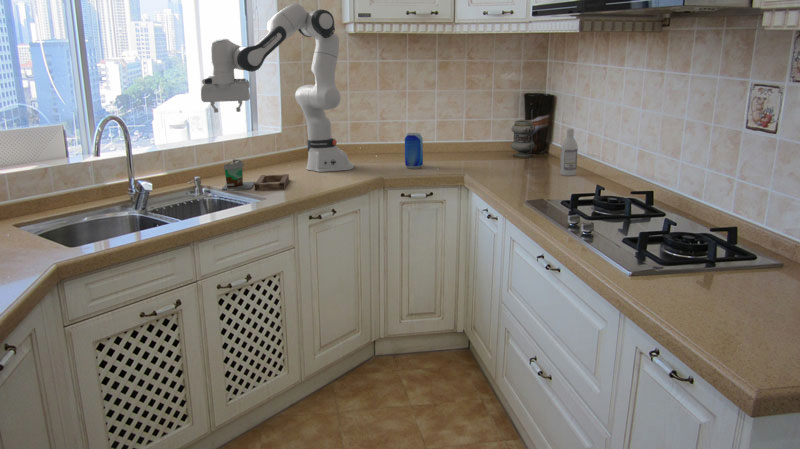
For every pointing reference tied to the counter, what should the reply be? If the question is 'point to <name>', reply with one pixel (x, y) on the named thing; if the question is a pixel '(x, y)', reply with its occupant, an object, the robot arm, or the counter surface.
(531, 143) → the apothecary jar
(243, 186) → the mat
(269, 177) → the pocket frame
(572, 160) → the bath foam
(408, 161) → the beer can
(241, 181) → the food container
